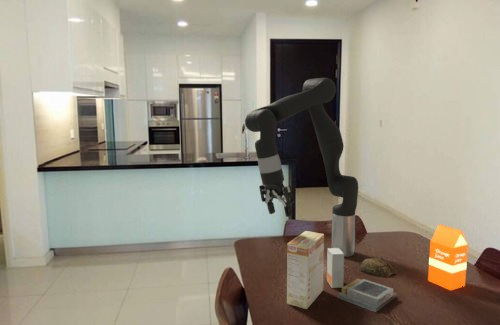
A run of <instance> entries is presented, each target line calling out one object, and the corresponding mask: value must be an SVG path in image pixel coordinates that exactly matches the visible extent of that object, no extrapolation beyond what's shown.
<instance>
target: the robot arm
mask: <svg viewBox="0 0 500 325" xmlns="http://www.w3.org/2000/svg"><path fill="white" fill-rule="evenodd" d="M336 93H337V88H336V84H335V82H334V81H333V79H330V78H328V77H317V78H310V79H309V78H308V79H307V80H305V81H304V83H303V85H302V91H301V92H298V93H294V94H291V95H287V96H285V97H282V98H279V99H278V100H276V101H274V102H272V103H270V104H268V105H266V106H262V107H259V108H257V109H254V110H251V111H250V112H249V113H247V115H246V117H245V120H244V125H245V127H246V129H247V130H248V131H250V132H253V133H260V134H259V139H257V140H256V141H255V142H254V148H255V154H256V159H257V163H258V164H257V165H258V170H259V175H260V180H261V185H259V186H258V187H259V194H260V198H261V202H264V203H265V204H266V206H267V210H268V213H269V215H272V214H275V213H276V209H275V204H274V202H273V201H274V199H276V200H278V201H279V202H281V203H282V205H283V209H284V214H285V218H286V217H287V218H289V217H291V216H293V210H292V204H294V203H295V202H296V201H295V198H294V193H293V189H292V186H291V184H289V185H287V186H285V185H284V181H285V176H284V172H283V167H282V162H281V158H280V156H279V152H278V151H279V150H278V146H277V142H276V141H277V123H281V122H284V121H286V120H288V119H290V118H291V117H293V116H294V115H296V114H299V113H301V112H303V111H305V110H308V113H309V114H310V118H311V121H312V124H313V127H314V130H315V134H316V138H317V141H318V146H319V149H320V152H321V155H322V160H323V164H324V168H325V173H326V178H327V186H328V189H329V192H330V194H331V195H332V196H335V197H338V198H342V202H341V203H340V204H335V205H334V206H333V207H332V211H331V212H332V215H331V216H332V218H331V220H332V221H331V248H339V249H340V250H341V251H342V252H343V253H344V258H348V257H349V258H350V257H352V256H354V254H355V249H356V248H355V246H356V244H355V243H356V241H355V240H356V230H355V228H356V226H355V225H356V224H355V222H356V209H357V206H358V195H359V181H358V180H357V178H356V177H355V176H353V175H352V176H351V175H346V174H344V175H343V174H341V173H342V172H341V171H340V167H339V162H340V158H341V156H342V154H343V151H344V141H343V136H342V133H341V130H340V128H339V127H338V125H337V124H336V122H335V121H334V120H332V118H331V117H330V116H329V114H328V113H327V111H326V109H325V108H324V104H326V103H329V102H331V101H332V100H333V99H334V97H335V95H336Z"/></svg>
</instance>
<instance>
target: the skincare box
mask: <svg viewBox="0 0 500 325" xmlns="http://www.w3.org/2000/svg"><path fill="white" fill-rule="evenodd" d="M326 250H327V253H326V254H327V257H326V258H327V260H326V261H327V262H326V263H327V264H326V281H327V283H328V284H329V286H330V287H331V289H340V288H341V289H342V287H344V273H345V272H344V271H345V270H344V269H345V257H344V253H343V252H342V251H341V250H340V249H339V248H332V247H330V248H329V247H327V249H326Z"/></svg>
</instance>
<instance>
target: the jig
mask: <svg viewBox="0 0 500 325" xmlns="http://www.w3.org/2000/svg"><path fill="white" fill-rule="evenodd" d="M396 297H397V292H394V288H392V287H389V286H387V285H383V284H380V283H377V282H374V281H371V280H368V279H366V278H365V279H364V278H362V279H360V278H358V277H357V278H356V279H354V280H352V281H351V282H349V283H347V284H346V285H343V287H342V288H341V292H339V293H337V298H338V299H339V300H342V301H345V302H347V303H351V304H353V305H355V306H358V307H361V308H363V309H365V310H368V311H371V312H372V313H373V312H374V313H377V312H378V311H380V310H381V309H382V308H384V307H385V306H386V305H387V304H389V303H390V302H391V301H392V300H394V299H395V298H396Z"/></svg>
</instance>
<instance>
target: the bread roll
mask: <svg viewBox="0 0 500 325" xmlns="http://www.w3.org/2000/svg"><path fill="white" fill-rule="evenodd" d="M394 267H395V266H394V265H393V264H391V263H389V262H388V261H387V260H385V259H383V258H380V257H379V258H377V257H376V258H375V257H370V258H366V259H364V260H362V262H361V263H360V264H359V271H360V272H362V273H364V274H367V275H371V276H375V277H381V278H388V277H392V275H397V274H398V272H397V270H396V269H395V268H394Z"/></svg>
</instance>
